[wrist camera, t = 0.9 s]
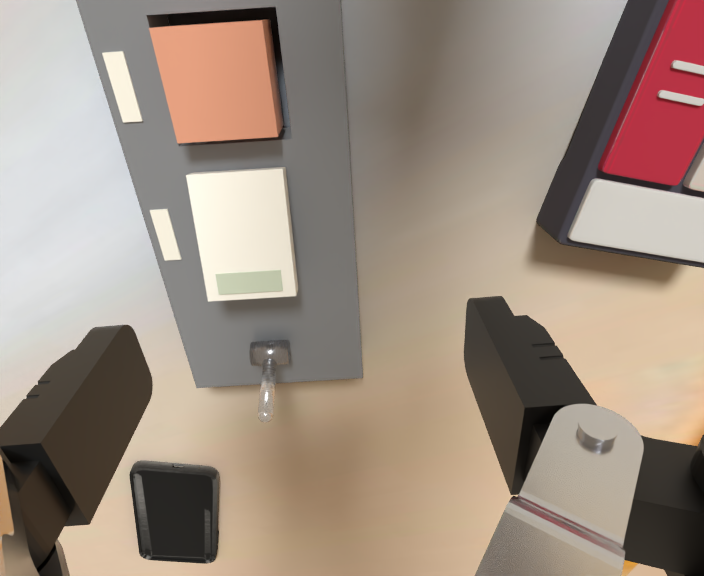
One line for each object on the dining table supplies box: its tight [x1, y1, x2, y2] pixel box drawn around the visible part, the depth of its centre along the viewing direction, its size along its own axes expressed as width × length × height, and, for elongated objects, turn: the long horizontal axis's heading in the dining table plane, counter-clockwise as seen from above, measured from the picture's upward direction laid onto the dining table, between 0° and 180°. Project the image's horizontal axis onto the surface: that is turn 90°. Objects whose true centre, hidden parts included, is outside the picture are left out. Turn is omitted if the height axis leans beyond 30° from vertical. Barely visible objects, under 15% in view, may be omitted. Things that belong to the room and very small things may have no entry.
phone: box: [130, 461, 219, 563], centre depth 46 cm, size 8×1×15 cm
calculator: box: [537, 0, 704, 268], centre depth 26 cm, size 11×4×15 cm
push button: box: [149, 19, 284, 143], centre depth 23 cm, size 5×5×3 cm
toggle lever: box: [249, 340, 290, 423], centre depth 29 cm, size 2×2×6 cm
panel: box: [76, 0, 363, 388], centre depth 28 cm, size 25×12×4 cm, turn 3°
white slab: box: [186, 167, 298, 302], centre depth 25 cm, size 7×5×1 cm
